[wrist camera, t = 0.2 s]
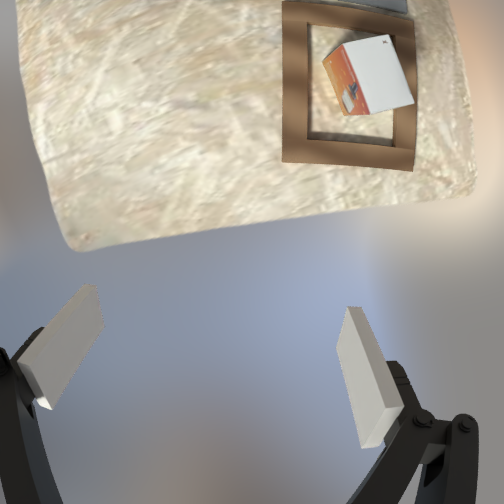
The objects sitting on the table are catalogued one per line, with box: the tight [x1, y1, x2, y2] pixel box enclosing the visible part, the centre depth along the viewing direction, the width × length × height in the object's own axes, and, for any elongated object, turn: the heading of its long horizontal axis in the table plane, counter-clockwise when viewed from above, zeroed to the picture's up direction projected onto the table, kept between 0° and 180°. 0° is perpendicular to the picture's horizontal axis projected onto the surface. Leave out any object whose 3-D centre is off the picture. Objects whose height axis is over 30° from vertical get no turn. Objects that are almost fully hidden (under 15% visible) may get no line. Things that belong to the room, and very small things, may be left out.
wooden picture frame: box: [282, 1, 417, 172], centre depth 33 cm, size 22×18×1 cm
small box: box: [322, 34, 415, 116], centre depth 29 cm, size 8×6×10 cm
